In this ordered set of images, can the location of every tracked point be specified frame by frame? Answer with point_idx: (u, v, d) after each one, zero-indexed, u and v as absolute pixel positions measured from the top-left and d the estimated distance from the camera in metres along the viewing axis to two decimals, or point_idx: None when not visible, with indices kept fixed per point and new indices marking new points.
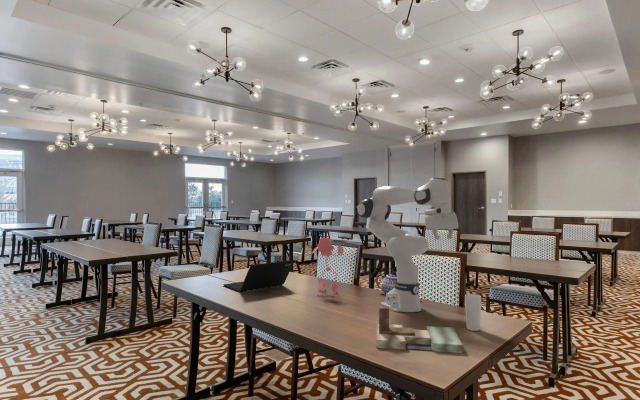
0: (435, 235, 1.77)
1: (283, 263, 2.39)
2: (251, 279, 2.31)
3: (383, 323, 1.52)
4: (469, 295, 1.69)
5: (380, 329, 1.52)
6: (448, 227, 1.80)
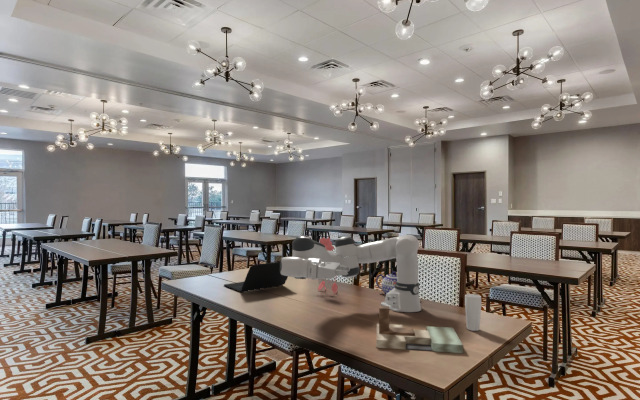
0: (342, 272, 1.52)
1: None
2: (251, 279, 2.31)
3: (383, 323, 1.52)
4: (469, 295, 1.69)
5: (380, 329, 1.52)
6: (336, 265, 1.60)
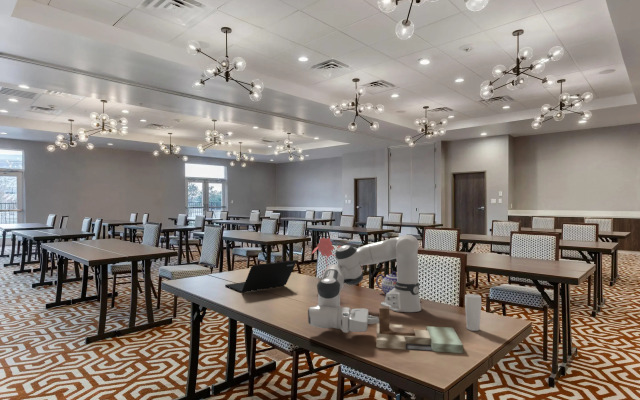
0: (374, 321, 1.52)
1: (285, 263, 2.37)
2: (252, 280, 2.30)
3: (383, 323, 1.52)
4: (469, 295, 1.69)
5: (380, 329, 1.52)
6: (366, 313, 1.57)
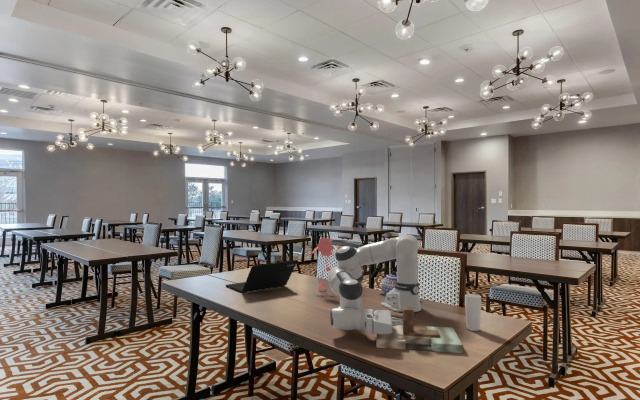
0: (398, 323, 1.50)
1: (285, 263, 2.37)
2: (252, 280, 2.29)
3: (407, 325, 1.50)
4: (469, 295, 1.69)
5: (404, 331, 1.50)
6: (389, 315, 1.55)
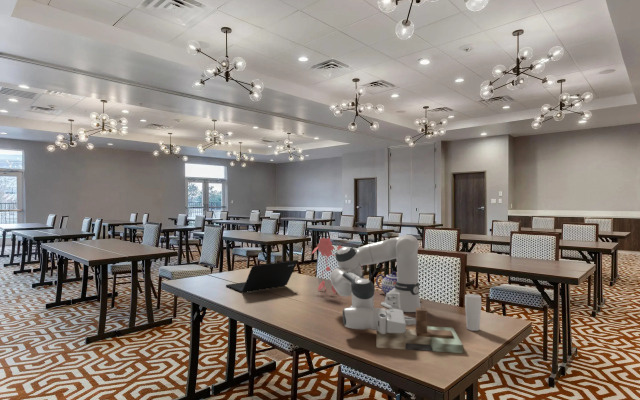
0: (411, 322, 1.50)
1: (286, 264, 2.36)
2: (253, 280, 2.29)
3: (420, 325, 1.49)
4: (469, 295, 1.69)
5: (418, 331, 1.50)
6: (402, 314, 1.55)
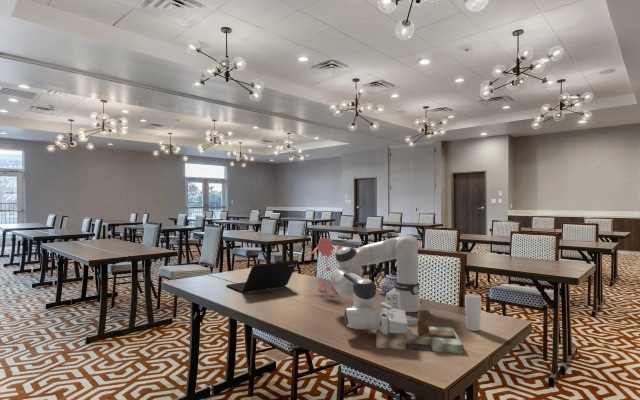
0: (413, 322, 1.50)
1: (286, 264, 2.36)
2: (253, 280, 2.29)
3: (422, 325, 1.49)
4: (469, 295, 1.69)
5: (420, 331, 1.49)
6: (404, 314, 1.55)
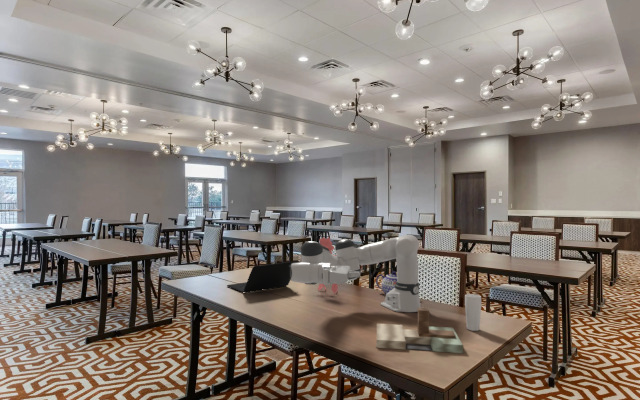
0: (355, 274, 1.54)
1: (287, 264, 2.35)
2: (254, 280, 2.28)
3: (422, 325, 1.49)
4: (469, 295, 1.69)
5: (420, 331, 1.49)
6: (347, 268, 1.58)
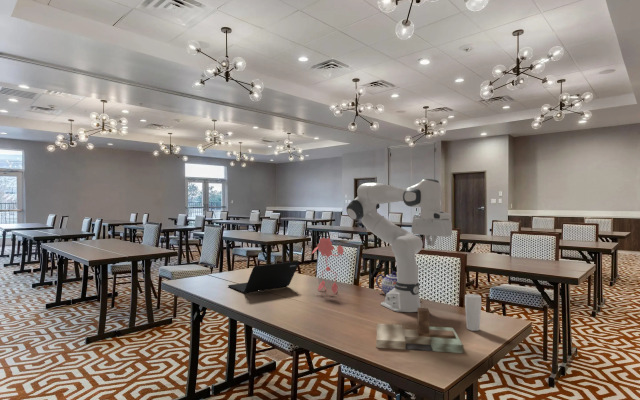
0: (433, 241, 1.66)
1: (288, 264, 2.35)
2: (254, 280, 2.28)
3: (422, 325, 1.49)
4: (469, 295, 1.69)
5: (420, 331, 1.49)
6: None
